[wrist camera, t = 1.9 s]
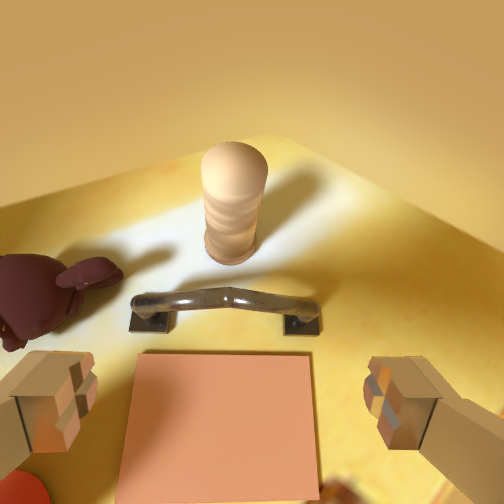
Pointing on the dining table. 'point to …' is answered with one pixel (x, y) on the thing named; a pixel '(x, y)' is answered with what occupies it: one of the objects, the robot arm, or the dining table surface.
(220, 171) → the birch post
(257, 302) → the bent metal handle
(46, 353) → the robot arm
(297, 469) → the tile
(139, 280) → the dining table surface
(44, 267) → the icecream
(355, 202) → the dining table surface
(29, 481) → the beer can
